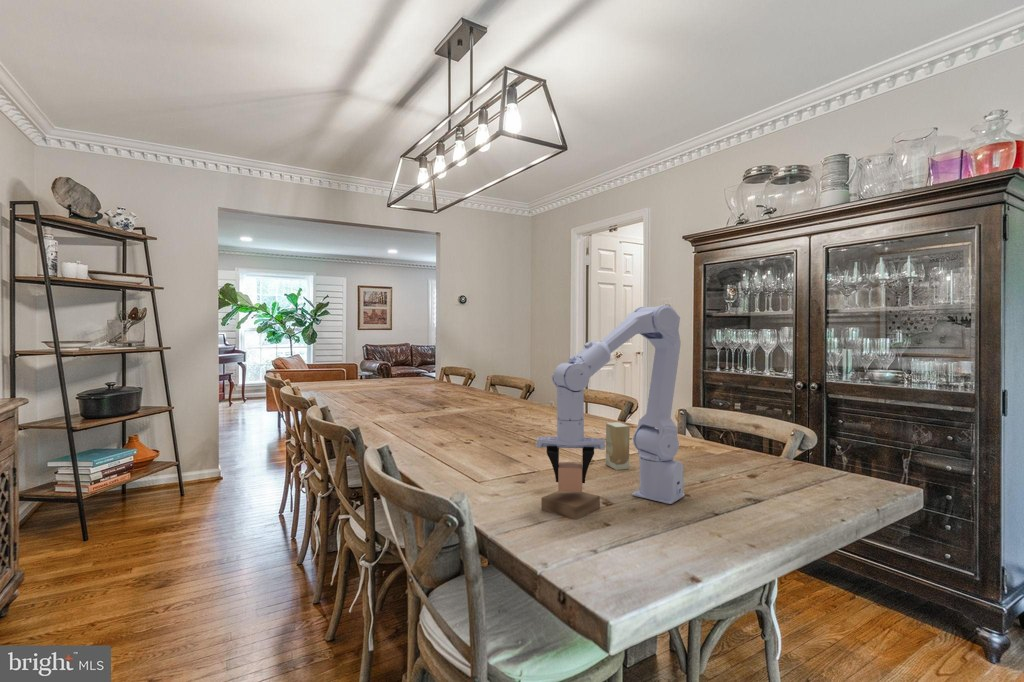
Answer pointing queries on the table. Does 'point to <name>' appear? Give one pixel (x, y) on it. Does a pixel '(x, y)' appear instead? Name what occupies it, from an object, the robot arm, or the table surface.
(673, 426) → the robot arm
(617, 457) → the skincare box
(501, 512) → the table surface
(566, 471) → the terracotta cube
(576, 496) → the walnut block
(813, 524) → the table surface
